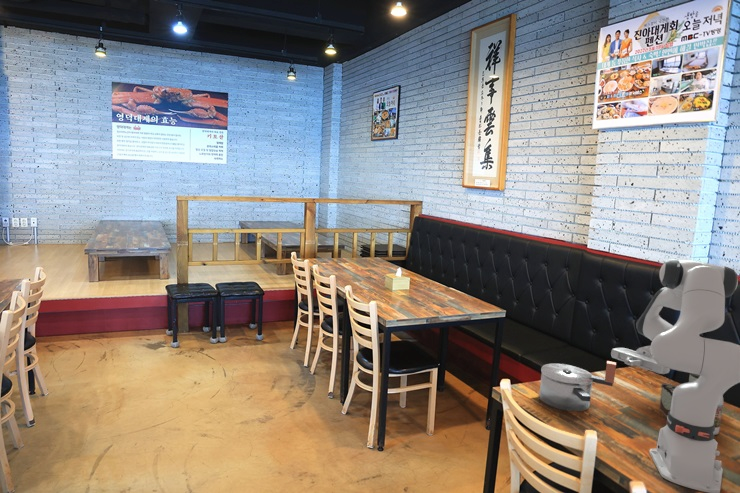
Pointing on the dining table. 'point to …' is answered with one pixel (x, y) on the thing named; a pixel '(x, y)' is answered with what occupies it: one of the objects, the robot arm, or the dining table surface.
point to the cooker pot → (565, 395)
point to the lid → (578, 374)
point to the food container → (666, 397)
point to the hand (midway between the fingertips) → (628, 362)
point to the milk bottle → (718, 415)
